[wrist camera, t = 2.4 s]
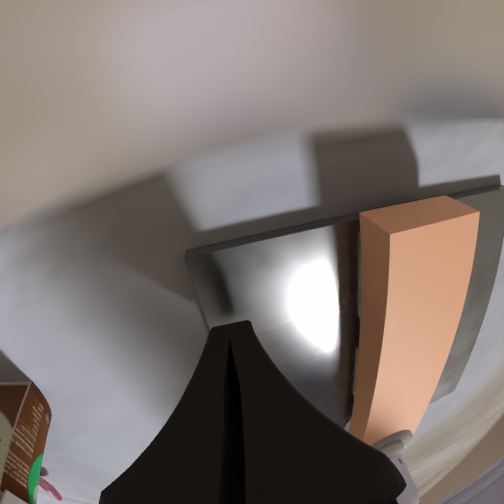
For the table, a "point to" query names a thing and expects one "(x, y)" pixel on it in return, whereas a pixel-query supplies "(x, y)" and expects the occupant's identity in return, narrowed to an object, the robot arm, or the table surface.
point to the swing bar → (408, 312)
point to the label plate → (328, 299)
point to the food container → (21, 440)
